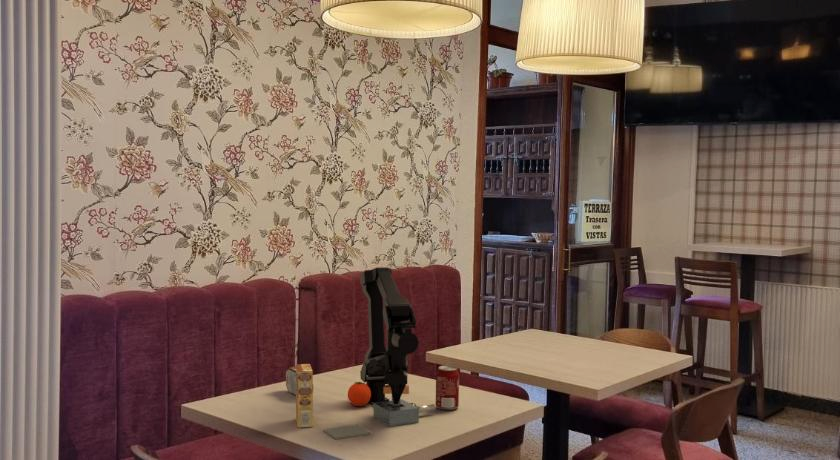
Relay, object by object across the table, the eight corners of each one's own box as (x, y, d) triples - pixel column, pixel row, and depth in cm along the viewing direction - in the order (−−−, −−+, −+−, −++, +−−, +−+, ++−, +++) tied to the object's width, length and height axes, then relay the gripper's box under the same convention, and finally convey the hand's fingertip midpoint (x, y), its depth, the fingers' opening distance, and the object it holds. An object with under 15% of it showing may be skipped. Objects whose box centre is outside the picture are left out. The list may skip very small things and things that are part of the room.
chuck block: (373, 417, 224) (373, 402, 224) (424, 410, 232) (425, 396, 232) (389, 426, 216) (389, 411, 215) (442, 418, 224) (442, 404, 224)
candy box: (313, 427, 214) (313, 370, 213) (297, 428, 213) (297, 371, 212) (310, 418, 222) (310, 363, 221) (294, 418, 221) (295, 364, 220)
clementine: (343, 403, 239) (343, 379, 238) (365, 401, 241) (365, 377, 241) (351, 409, 231) (352, 385, 231) (374, 407, 234) (374, 383, 234)
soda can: (456, 412, 231) (457, 370, 230) (433, 410, 232) (434, 369, 232) (460, 406, 238) (460, 366, 237) (437, 404, 239) (438, 364, 238)
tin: (314, 400, 241) (314, 373, 240) (304, 402, 239) (304, 374, 239) (292, 390, 253) (292, 363, 253) (283, 391, 251) (283, 364, 251)
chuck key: (383, 412, 223) (383, 385, 223) (408, 413, 223) (409, 385, 223) (383, 415, 221) (383, 387, 220) (408, 415, 221) (408, 387, 221)
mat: (323, 430, 211) (323, 429, 210) (357, 426, 215) (358, 424, 215) (335, 439, 204) (335, 437, 204) (370, 434, 208) (370, 432, 208)
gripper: (369, 340, 230) (368, 393, 231) (365, 353, 212) (364, 411, 213) (408, 340, 231) (407, 394, 231) (407, 353, 212) (406, 412, 213)
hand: (396, 402), depth 222 cm, fingers closed on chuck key, 2 cm apart
